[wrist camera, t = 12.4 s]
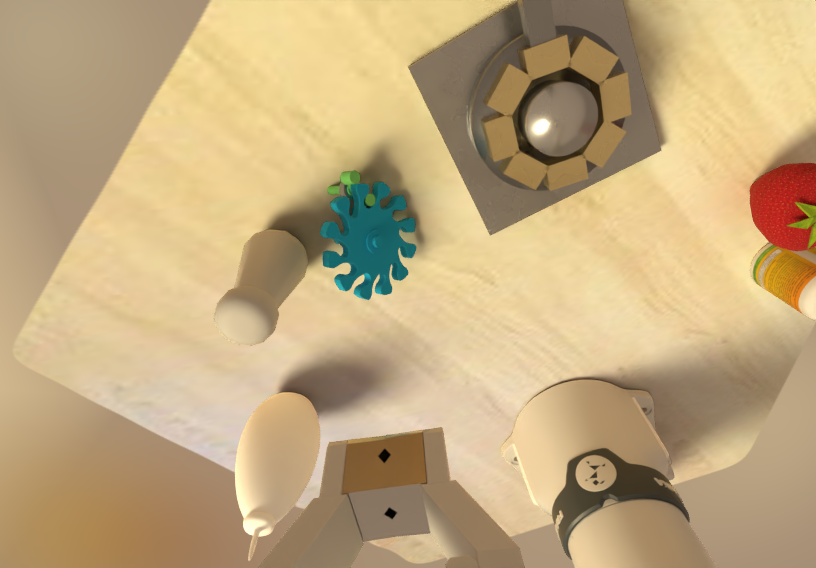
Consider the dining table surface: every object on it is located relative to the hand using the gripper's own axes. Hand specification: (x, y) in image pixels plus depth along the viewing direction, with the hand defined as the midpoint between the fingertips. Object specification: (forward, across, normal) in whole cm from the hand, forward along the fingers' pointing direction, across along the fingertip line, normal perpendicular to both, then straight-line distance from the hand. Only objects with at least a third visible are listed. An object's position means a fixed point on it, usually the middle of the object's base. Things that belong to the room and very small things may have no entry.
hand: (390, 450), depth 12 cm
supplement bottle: (+31, -36, +16) cm, 51 cm away
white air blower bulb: (+31, +16, +25) cm, 43 cm away
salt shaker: (+31, +12, +6) cm, 34 cm away
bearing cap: (+31, -13, -2) cm, 34 cm away
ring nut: (+28, -12, -6) cm, 31 cm away
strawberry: (+31, -32, +8) cm, 46 cm away
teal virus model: (+31, +3, +5) cm, 32 cm away
